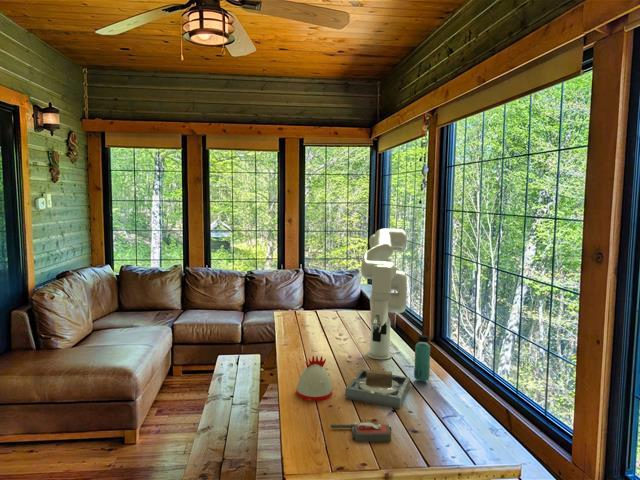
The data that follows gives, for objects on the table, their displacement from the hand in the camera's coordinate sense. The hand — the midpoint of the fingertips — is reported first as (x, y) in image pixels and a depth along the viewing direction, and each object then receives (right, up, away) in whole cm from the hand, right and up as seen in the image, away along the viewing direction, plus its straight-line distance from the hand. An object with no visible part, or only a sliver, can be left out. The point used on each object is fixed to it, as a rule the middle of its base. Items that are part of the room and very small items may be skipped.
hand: (379, 337), depth 176 cm
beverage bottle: (+19, -21, +11) cm, 30 cm away
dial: (-1, -19, -1) cm, 19 cm away
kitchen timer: (-26, -21, -3) cm, 34 cm away
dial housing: (-1, -22, -1) cm, 21 cm away
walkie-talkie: (-10, -25, -33) cm, 42 cm away
